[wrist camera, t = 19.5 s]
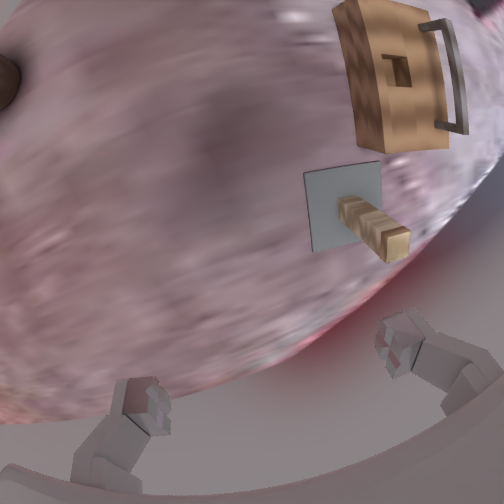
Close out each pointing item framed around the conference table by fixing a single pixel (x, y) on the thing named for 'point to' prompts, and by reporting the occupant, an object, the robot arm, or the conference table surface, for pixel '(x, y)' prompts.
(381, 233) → the wooden key
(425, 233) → the conference table surface
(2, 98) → the plant pot
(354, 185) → the slate mat
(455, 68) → the toolbox
